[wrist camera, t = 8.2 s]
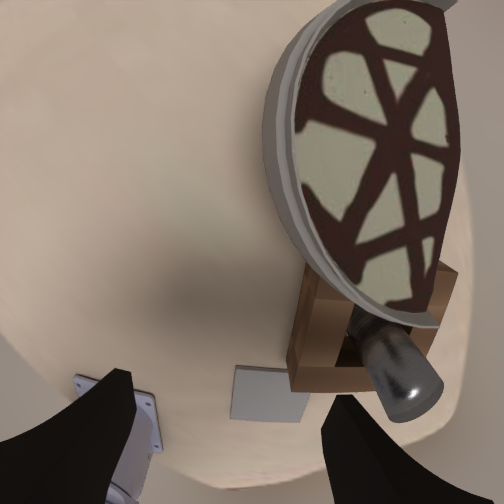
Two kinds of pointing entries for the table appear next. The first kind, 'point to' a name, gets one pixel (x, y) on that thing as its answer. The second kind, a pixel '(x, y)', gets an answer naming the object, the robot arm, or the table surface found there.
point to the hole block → (333, 336)
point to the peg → (394, 366)
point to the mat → (266, 396)
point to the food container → (367, 150)
